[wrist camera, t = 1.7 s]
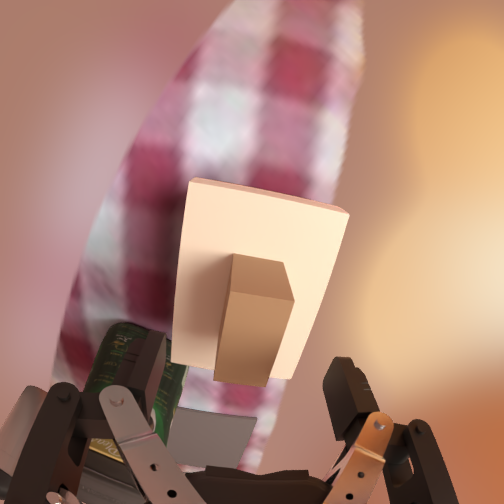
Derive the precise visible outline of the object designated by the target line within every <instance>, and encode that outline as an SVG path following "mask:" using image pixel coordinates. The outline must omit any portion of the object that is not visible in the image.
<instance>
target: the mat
mask: <svg viewBox="0 0 504 504" xmlns="http://www.w3.org/2000/svg"><path fill="white" fill-rule="evenodd" d="M256 422H257V418H254V417H244V416H234V415H226V414H219V413H212V412H205V411H199V410H193V409H187V408H182V407H177V408H176V411H175V415H174V418H173V421H172V425H171V428H170V432H169V437H168V442H167V450H168V451H169V453H170V454H171V456H172V457H173V459H174V460H175V462H176V463H178V464H183V465H189V466H195V467H202V468H206V465H209V466H217V467H226V468H234V469H236V468H237V466H238V464H239V461H240V459H241V457H242V455H243V452H244V450H245V448H246V446H247V443H248V441H249V439H250V436H251V434H252V431H253V429H254V427H255V424H256Z"/></svg>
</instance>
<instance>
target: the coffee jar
mask: <svg viewBox="0 0 504 504" xmlns="http://www.w3.org/2000/svg"><path fill="white" fill-rule="evenodd" d="M148 333H149V330H146V329H144V328H141V327H139V326H136V325H133V324H130V323H118V324H115V325H113V326H112V327H110V328H109V330H108V331H107V333H106V335H105V337H104V339H103V341H102V343H101V345H100V348H99V350H98V352H97V355H96V358H95V360H94V363H93V366H92V369H91V371H90V374H89V377H88V380H87V382H86V385H85V388H84V390H83V392H88V393H97V392H101V391H102V390H103V389H104V388H106V387H108V386H110V385H111V384H112V382H113V380H114V378H115V375H116V373H117V371H118V369H119V367H120V364H121V362H122V360H123V358H124V356H125V354H126V352H127V350H128V347H129V345H130V344H131V343H132V342H133V341H135V340H136V339H137V338H140V339H145V340H146V338H147V336H148ZM171 347H172V342H171V341H169V340H168V339H166V361H165V367H164V370H163V374H162V377H161V380H160V384H159V387H158V391H157V394H156V398H155V401H154V405H153V408H152V412H151V415H150V419H149V423H148V425H149V426H150V428H151V430H152V431H153V432H156V433H157V434H158V436H159V437H160V439H161V440H162V442H163V443H164V445H165V447H166V448H167V442H168V437H169V432H170V428H171V425H172V421H173V418H174V415H175V411H176V408H177V405H178V402H179V399H180V397H181V394H182V390H183V388H184V384H185V381H186V377H187V373H188V369H189V366H188V365H183V364H178V363H173V362H171ZM76 497H77V498H78V499H79V500H80V501H81V502H84V503H86V504H144V503H145V501H144V499H143V497H142V496H141V494H140V492H139V491H138V489H137V487H136V485H135V484H134V482H133V480H132V478H131V476H130V474H129V472H128V470H127V468H126V466H125V464H124V462H123V460H122V458H121V456H120V454H119V452H118V450H117V448H116V446H115V444H114V442H113V440H112V439H92V440H91V443H90V446H89V450H88V453H87V457H86V460H85V464H84V468H83V472H82V475H81V479H80V483H79V488H78V492H77V496H76Z"/></svg>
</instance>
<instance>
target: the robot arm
mask: <svg viewBox="0 0 504 504" xmlns="http://www.w3.org/2000/svg"><path fill="white" fill-rule="evenodd" d="M165 361H166V333H164V332H159V331H155V330H150V331H149V333H148V336H147V338H146V340H145V339H140V338H137V339H136V340H135V341H133V342H132V343H131V344H130V345H129V347H128V350H127V352H126V354H125V356H124V358H123V360H122V362H121V364H120V367H119V369H118V371H117V373H116V375H115V378H114V380H113V382H112V384H111V385H110V386H108V387H106V388H104V389H103V390H102V391H101V392H97V393H88V392H79V391H78V389H77V388H76V387H75V386H74V385H73V384H70V383H67V382H60V383H57V384H55V385H53V386H52V387H51V388H50V390H49V392H48V393H47V392H45V391H43V390H42V389H40V388H38V387H35V386H27V387H26V388H25V390H24V391H23V393H22V394H21V396H20V398H19V399H18V401H17V402H16V404H15V406H14V407H13V409H12V410H11V412H10V414H9V415H8V417H7V419H6V421H5V422H4V424H3V426H2V428H1V429H0V500H5V501H4V504H83V503H82V502H81V501H80V500H79V499H78V498H77V497H76V496H77V492H78V488H79V483H80V479H81V475H82V472H83V468H84V464H85V460H86V457H87V453H88V450H89V446H90V443H91V440H92V439H112V440H113V442H114V444H115V446H116V448H117V450H118V452H119V454H120V456H121V458H122V460H123V462H124V464H125V466H126V468H127V470H128V472H129V474H130V476H131V478H132V480H133V482H134V484H135V485H136V487H137V489H138V491H139V492H140V494H141V496H142V497H143V499H144V501H145V503H144V504H367V501H368V499H369V498H370V495H371V493H372V491H373V489H374V487H375V485H376V483H377V480H378V478H379V476H380V474H381V471H382V470H383V474H384V478H385V483H386V487H387V491H388V495H389V500H390V504H459V503H458V500H457V496H456V493H455V491H454V487H453V485H452V482H451V479H450V476H449V473H448V471H447V468H446V465H445V463H444V460H443V457H442V455H441V452H440V450H439V447H438V445H437V442H436V440H435V437H434V435H433V433H432V430H431V428H430V426H429V425H428V424H427V423H426V422H425V421H423V420H420V419H415V420H412V421H411V422H410V423H409V424H408V425H401V424H396V423H393V420H392V419H391V418H390V417H389V416H388V415H387V414H385V413H382V412H380V410H379V408H378V405H377V402H376V400H375V398H374V395H373V393H372V391H371V388H370V386H369V384H368V381H367V379H366V376H365V374H364V373H363V372H362V371H361V370H360V369H359V368H355V366H354V363H353V361H352V359H351V358H350V357H335V358H334V359H333V361H332V363H331V365H330V367H329V369H328V371H327V373H326V375H325V377H324V380H323V391H324V395H325V399H326V403H327V407H328V411H329V414H330V418H331V422H332V426H333V430H334V434H335V438H336V441H343V440H345V443H346V444H345V446H344V447H343V448H342V450H341V452H340V453H339V455H338V457H337V459H336V460H335V462H334V463H333V465H332V467H331V468H330V470H329V471H328V473H327V474H326V476H325V477H324V478H323V479H322V480H320V479H318V478H315V477H312V476H309V473H308V470H284V471H279V472H275V473H270V474H265V475H255V474H251V473H248V472H244V471H241V470H237V469H234V468H226V467H217V466H209V465H206V469H205V471H198V472H193V473H190V474H187V475H184V473H183V472H182V471H181V469H180V468H179V466H178V465H177V463H176V462H175V460H174V459H173V457H172V456H171V454H170V453H169V451H168V450H167V448H166V447H165V445H164V443H163V442H162V440H161V439H160V437H159V436H158V434H157V433H156V432H153V431H152V430H151V428H150V426H149V425H148V423H149V419H150V415H151V412H152V408H153V405H154V401H155V398H156V394H157V391H158V387H159V384H160V380H161V377H162V374H163V370H164V367H165ZM408 458H410V459H411V462H412V465H413V468H414V474H413V473H412V469H411V466H410V463H409V460H408Z"/></svg>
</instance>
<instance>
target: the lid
mask: <svg viewBox="0 0 504 504" xmlns="http://www.w3.org/2000/svg"><path fill="white" fill-rule="evenodd" d="M348 218H349V214H348V213H347V212H346V211H344V210H343V209H342V208H340V207H338V206H334V205H330V204H326V203H322V202H318V201H313V200H309V199H305V198H300V197H296V196H291V195H287V194H282V193H277V192H273V191H268V190H263V189H258V188H253V187H248V186H242V185H237V184H232V183H226V182H221V181H215V180H209V179H203V178H197V177H195V178H193V179H192V180H191V181H189V185H188V191H187V198H186V205H185V212H184V219H183V227H182V234H181V243H180V251H179V260H178V270H177V280H176V290H175V302H174V315H173V330H172V347H171V362H173V363H178V364H183V365H188V366H193V367H199V368H205V369H211V370H214V379H213V381H220V382H227V383H234V384H242V385H250V386H259V387H266V384H267V382H268V379H269V377H272V378H283V379H291V377H292V375H293V373H294V370H295V368H296V366H297V363H298V361H299V358H300V356H301V354H302V351H303V349H304V346H305V344H306V341H307V339H308V336H309V333H310V331H311V328H312V326H313V323H314V320H315V318H316V315H317V312H318V310H319V307H320V304H321V301H322V298H323V296H324V293H325V290H326V287H327V284H328V281H329V279H330V275H331V272H332V269H333V267H334V264H335V260H336V257H337V254H338V251H339V247H340V245H341V242H342V238H343V235H344V232H345V228H346V225H347V222H348Z"/></svg>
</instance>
